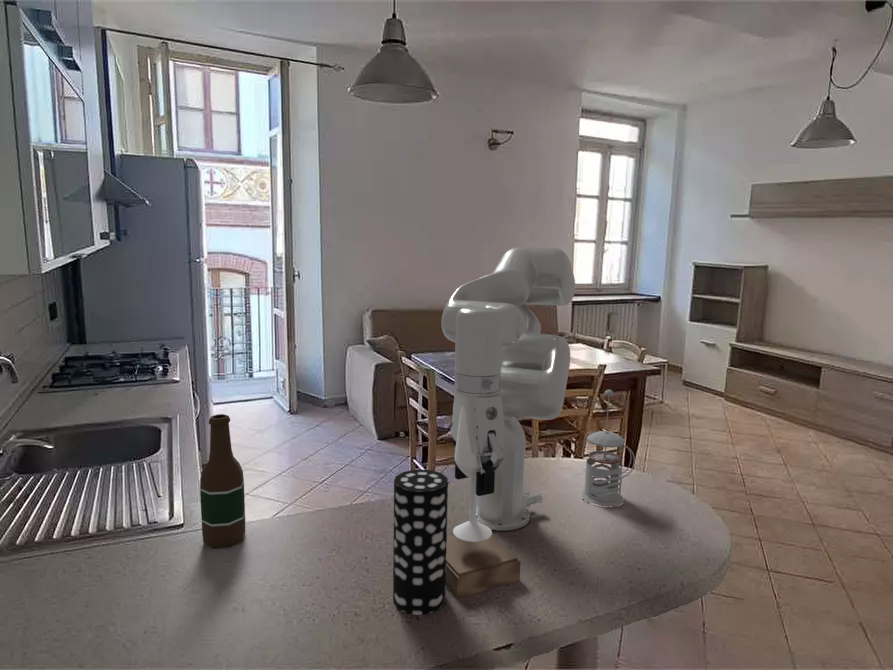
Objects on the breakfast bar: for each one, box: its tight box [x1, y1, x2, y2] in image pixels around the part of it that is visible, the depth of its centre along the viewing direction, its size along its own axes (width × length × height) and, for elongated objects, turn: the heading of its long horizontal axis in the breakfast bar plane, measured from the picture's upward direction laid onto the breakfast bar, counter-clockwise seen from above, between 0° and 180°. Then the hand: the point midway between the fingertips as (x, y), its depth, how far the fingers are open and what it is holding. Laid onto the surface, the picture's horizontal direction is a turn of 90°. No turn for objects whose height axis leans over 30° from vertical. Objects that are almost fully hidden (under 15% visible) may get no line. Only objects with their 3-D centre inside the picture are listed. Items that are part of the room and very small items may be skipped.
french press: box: [581, 389, 636, 507], centre depth 130 cm, size 10×12×25 cm
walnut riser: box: [446, 534, 522, 599], centre depth 101 cm, size 12×12×4 cm
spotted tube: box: [392, 469, 449, 616], centre depth 92 cm, size 8×8×20 cm
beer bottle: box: [199, 413, 246, 550], centre depth 108 cm, size 8×8×24 cm
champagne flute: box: [452, 405, 493, 542], centre depth 98 cm, size 7×7×24 cm
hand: (473, 484), depth 99 cm, fingers closed on champagne flute, 6 cm apart
